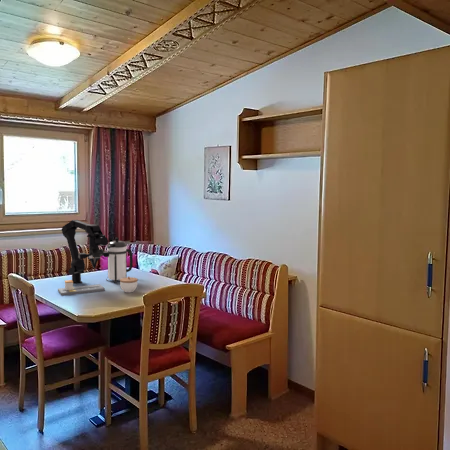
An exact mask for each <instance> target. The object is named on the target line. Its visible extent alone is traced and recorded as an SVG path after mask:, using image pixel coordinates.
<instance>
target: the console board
mask: <svg viewBox="0 0 450 450" xmlns="http://www.w3.org/2000/svg"><path fill="white" fill-rule="evenodd" d="M104 291H106V290H105V287H104V286H102V284H100V283H99V284H89V285H88V284H87V285H77V286H73V290H66V289H65V287H60V288H57V292H58V293H59V295H60V296H68V295H69V296H70V295H77V294H78V295H80V294H88V293H89V294H90V293H97V292H104Z"/></svg>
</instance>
